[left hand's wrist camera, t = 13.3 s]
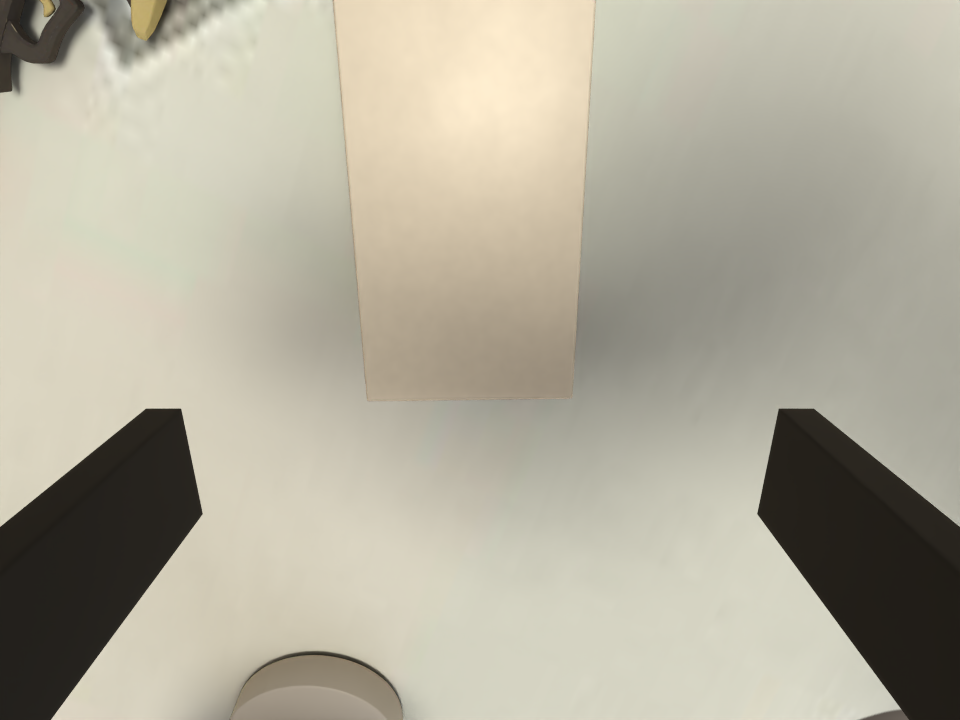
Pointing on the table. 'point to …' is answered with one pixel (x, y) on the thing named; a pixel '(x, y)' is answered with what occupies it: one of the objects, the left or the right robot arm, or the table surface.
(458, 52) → the thick board
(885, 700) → the table surface
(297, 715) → the bust sculpture
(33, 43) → the toy gun
